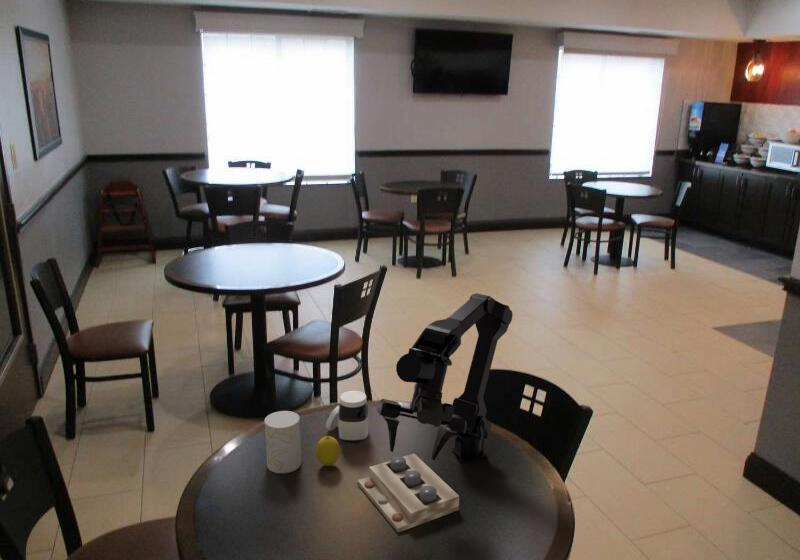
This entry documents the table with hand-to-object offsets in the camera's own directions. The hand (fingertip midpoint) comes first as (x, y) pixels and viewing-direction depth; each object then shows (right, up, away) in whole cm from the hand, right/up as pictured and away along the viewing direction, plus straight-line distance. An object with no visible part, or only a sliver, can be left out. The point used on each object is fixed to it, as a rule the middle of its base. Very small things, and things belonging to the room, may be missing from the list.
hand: (412, 455), depth 130 cm
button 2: (+3, -10, +1) cm, 10 cm away
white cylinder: (-31, -7, +19) cm, 37 cm away
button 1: (-3, -6, +12) cm, 14 cm away
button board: (-1, -11, +7) cm, 13 cm away
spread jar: (-17, -4, +32) cm, 36 cm away
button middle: (0, -8, +7) cm, 10 cm away
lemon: (-20, -8, +18) cm, 28 cm away
